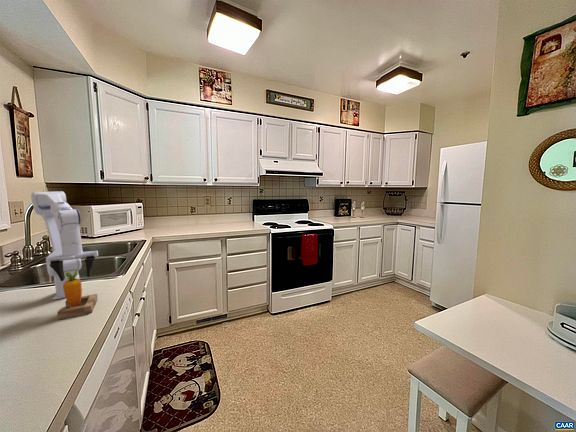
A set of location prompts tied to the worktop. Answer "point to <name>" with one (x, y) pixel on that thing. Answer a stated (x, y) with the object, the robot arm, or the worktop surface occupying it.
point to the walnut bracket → (79, 307)
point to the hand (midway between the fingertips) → (76, 278)
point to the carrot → (72, 289)
